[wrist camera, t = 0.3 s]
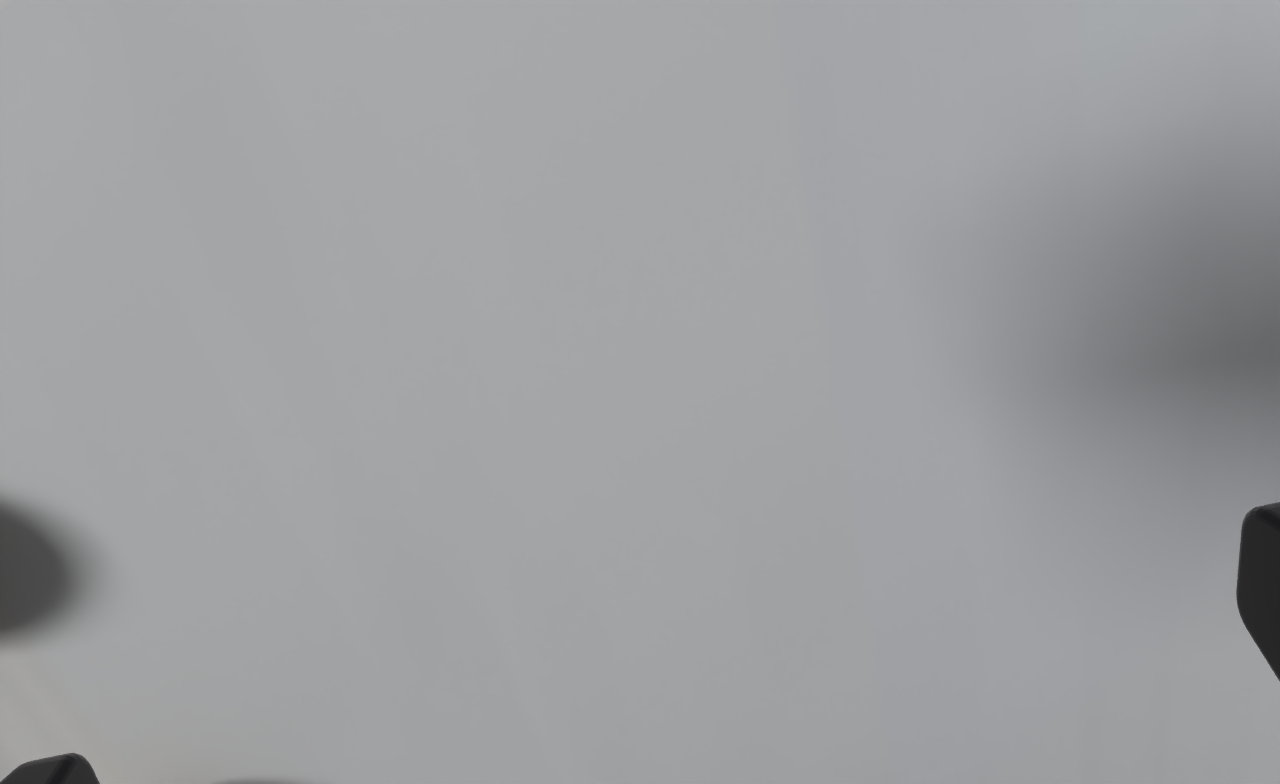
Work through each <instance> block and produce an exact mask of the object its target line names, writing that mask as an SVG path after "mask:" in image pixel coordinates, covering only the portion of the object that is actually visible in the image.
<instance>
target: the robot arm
mask: <svg viewBox="0 0 1280 784" xmlns="http://www.w3.org/2000/svg"><path fill="white" fill-rule="evenodd" d="M1236 592H1237V604H1238V609H1239V612H1240V616H1241V618H1242V620H1243V623H1244V625H1245V626H1246V628H1247V630H1248V632H1249V633H1250V635H1251V636H1252V638H1253V640H1254V641H1255V643H1256V644H1257V646H1258V648H1259V649H1260V651H1261V652H1262V654H1263V656H1264V657H1265V659H1266V660H1267V662H1268V664H1269V665H1270V667H1271V668H1272V670H1273V671H1274V673H1275V675H1276V676H1277V678H1278V679H1279V681H1280V502H1278V503H1273V504H1269V505H1264V506H1259V507H1255V508H1253V509H1252V510H1251V511H1249V512H1248V513H1247V514H1246V516H1245V518H1244V520H1243V524H1242V530H1241V542H1240V554H1239V567H1238V579H1237V591H1236ZM0 784H100V783H99V781H98V779H97V777H96V775H95V773H94V770H93V768H92V767H91V765H90V764H89V762H88V761H87V760H86V759H85V758H84V757H83V756H81V755H79V754H75V753H68V754H63V755H58V756H54V757H49V758H44V759H39V760H34V761H30V762H27V763H24V764H22V765H20V766H19V767H17V768H16V769H15V770H14V771H12V772H11V773H10V774H9V775H8V776H7V777H6V778H5V779H3V780H2V781H1V782H0Z"/></svg>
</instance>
